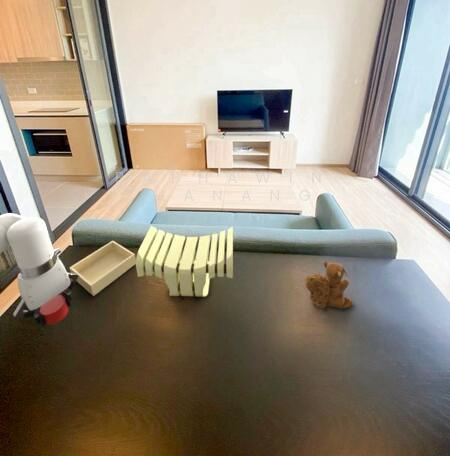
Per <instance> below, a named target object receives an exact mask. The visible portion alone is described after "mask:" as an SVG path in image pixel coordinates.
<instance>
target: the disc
mask: <svg viewBox="0 0 450 456" xmlns="http://www.w3.org/2000/svg"><path fill="white" fill-rule="evenodd" d="M40 312H41V314H42V315H43V318H44V320H45V323H46V324H45V326H52V325H56V324H58V323H59V322H62V320H63V319H64V318H65V317H66V316H67V315H68V312H69V307H68V306H67V303H66V300H65V297H64V296H62V294H58V295H57V296H55V297H54V298H52V299H51V300H49V301H48V302H46V303H45V304H43V305H42V306H41V308H40Z"/></svg>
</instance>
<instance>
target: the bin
mask: <svg viewBox="0 0 450 456" xmlns="http://www.w3.org/2000/svg"><path fill="white" fill-rule="evenodd" d="M134 266H136V254H135V253H134V252H132V251H130V250H129V249H128V248H126V247H124V246H123V245H121V244H119V243H117V242H116V241H115V240H111V241H110V242H108V243H107V244H104V245H103V246H101V247H100V248H99V249H97V250H95V251H94V252H92V253H91V254H89V255H87V256H85V257H84V258H82V259H81V260H79V261H78V262H76V263H74V264H73V265H71V266H69V271H70V273H77V274H78V275H79V277H78V278H77V280H76V282H77V283H78V284H79V285H80V286H81V287H83V288H84V289H85V290H86V291H87V292H88V293H89V294H90V295H92V297H95V296H96V295H97V294H99V293H100V292H101V291H102V290H104V289H105V288H106V287H108V286H109V285H110V284H112V283H113V282H114V281H115V280H117V279H118V278H119V277H121V276H122V275H123V274H124V273H126V272H127V271H129V269H132V267H134Z"/></svg>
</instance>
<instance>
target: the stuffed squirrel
mask: <svg viewBox="0 0 450 456" xmlns="http://www.w3.org/2000/svg"><path fill="white" fill-rule="evenodd" d="M322 263H323V266H324V268H325V276H323V275H322V274H320V273H315V274H314V275H313V274H311V275H306V278H305V279H304V281H305V287H306V289H307V290H308V291H309V293H310V294H309V296H310V299H311V301H312V302H313V304H314V305H315V306H316V307H317V308H318V309H325V307H332V308H335V309H341V310H342V309H346V308H349V307H351V306H352V305H353V300H352V299H351V298H350V297H347V296H344V292H345V290H346V289H348V286H349V285H350V282H349V279H347V278H343V277H344V275H345V276H346V277H349V275H348V273H347V271H346V270H345V268H344V266H343V265H342V264H341V263H339V262H328V261H327V260H324V261H323V262H322Z"/></svg>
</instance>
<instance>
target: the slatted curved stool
mask: <svg viewBox="0 0 450 456" xmlns="http://www.w3.org/2000/svg"><path fill="white" fill-rule="evenodd" d="M218 235H219V239H218ZM226 235H227V236H226ZM198 238H199V240H198ZM185 240H186V241H185ZM225 245H226V247H225ZM217 248H218V249H217ZM225 249H226V261H225ZM217 251H218V252H217ZM233 253H234V227H233V226H231V227H229V228H227V233H226V229H224V230H222V231H220V232H219V233H218V232H216V233H212V235H211V234H207V235H200V236H199V237H198V236H187V237H186V236H185V235H179V234H174V236H173V233H171V232H166V233H165V231H164V230H162V229H157V227H155V226H152V225H150V227H149V229H148V231H147V233H146V235H145V237H144V239H143V241H142V243H141V244H140V246H139V249H138V251H137V253H136V256H135V258H136V264H135V269H136V273H137V274H136V275H137V277H138V278H140V277H145V275H146V277H149V276H150V277H153V276H154V277H156V278H159V279H162V278H163V279H164V283H165V285H166V286H167V289H168V290H169V296H170V297H180V296H181V297H194V296H195V297H207V296H208V294H209V290H210V289H209V288H210V280H211V279H214V278H215V277H216V274H217V277H218V278H224V277H225V274H226V278H227V279H228V278H229V279H234V272H233V271H234V266H233V265H234V261H233V260H234V255H233ZM225 262H226V263H225Z"/></svg>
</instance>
